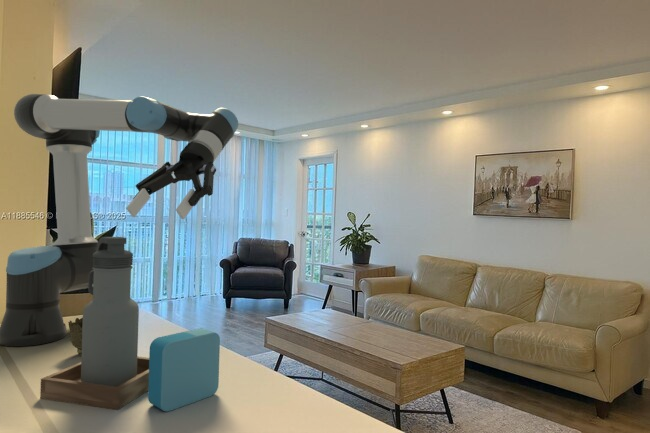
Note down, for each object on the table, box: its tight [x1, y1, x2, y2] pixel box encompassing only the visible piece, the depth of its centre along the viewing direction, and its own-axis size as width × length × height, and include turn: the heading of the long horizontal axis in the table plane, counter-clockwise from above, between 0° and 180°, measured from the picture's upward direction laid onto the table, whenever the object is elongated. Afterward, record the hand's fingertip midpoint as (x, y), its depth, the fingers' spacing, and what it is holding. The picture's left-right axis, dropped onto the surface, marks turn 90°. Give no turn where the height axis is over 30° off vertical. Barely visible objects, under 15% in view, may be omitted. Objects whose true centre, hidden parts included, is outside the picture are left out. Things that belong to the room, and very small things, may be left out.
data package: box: [147, 327, 221, 413], centre depth 82 cm, size 12×4×12 cm, turn 141°
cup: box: [68, 316, 83, 356], centre depth 105 cm, size 8×7×8 cm
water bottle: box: [80, 236, 140, 387], centre depth 86 cm, size 10×10×28 cm
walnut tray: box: [39, 355, 149, 411], centre depth 86 cm, size 16×16×4 cm
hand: (154, 213), depth 96 cm, fingers open, 13 cm apart
